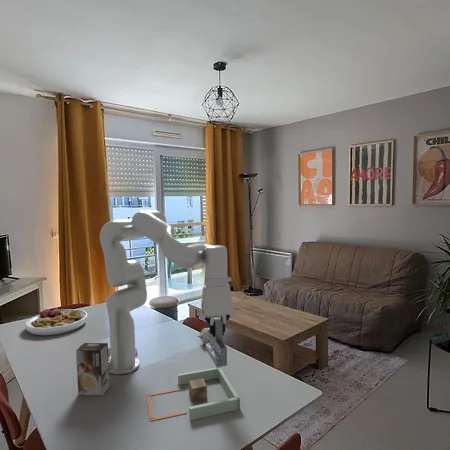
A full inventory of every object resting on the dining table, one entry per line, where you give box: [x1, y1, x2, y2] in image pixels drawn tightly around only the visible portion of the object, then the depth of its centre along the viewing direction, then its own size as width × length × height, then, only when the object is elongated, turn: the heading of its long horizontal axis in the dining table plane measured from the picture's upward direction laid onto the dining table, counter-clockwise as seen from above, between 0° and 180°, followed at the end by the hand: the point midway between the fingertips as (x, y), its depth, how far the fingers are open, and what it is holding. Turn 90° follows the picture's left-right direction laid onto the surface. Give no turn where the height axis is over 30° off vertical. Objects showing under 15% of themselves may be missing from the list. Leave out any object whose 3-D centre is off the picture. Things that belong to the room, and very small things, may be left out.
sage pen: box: [177, 366, 241, 421], centre depth 109 cm, size 16×21×4 cm
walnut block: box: [188, 378, 208, 404], centre depth 108 cm, size 5×5×5 cm
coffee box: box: [75, 342, 110, 396], centre depth 112 cm, size 9×6×16 cm
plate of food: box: [25, 308, 88, 336], centre depth 174 cm, size 30×30×8 cm
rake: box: [205, 316, 228, 368], centre depth 109 cm, size 4×14×13 cm, turn 18°
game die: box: [197, 327, 210, 346], centre depth 150 cm, size 9×8×10 cm
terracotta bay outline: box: [146, 388, 187, 422], centre depth 104 cm, size 11×14×1 cm
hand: (217, 334), depth 109 cm, fingers closed on rake, 2 cm apart
